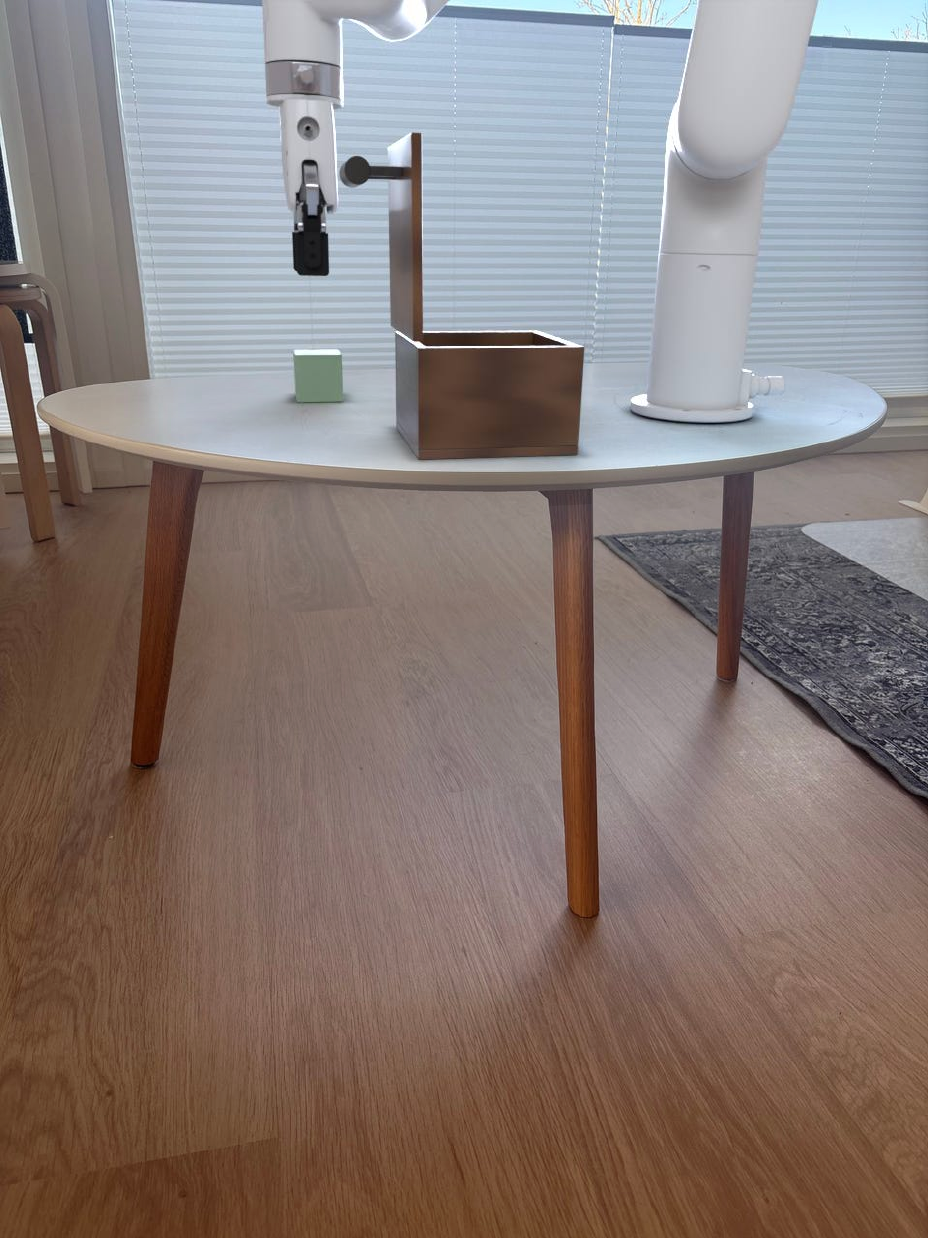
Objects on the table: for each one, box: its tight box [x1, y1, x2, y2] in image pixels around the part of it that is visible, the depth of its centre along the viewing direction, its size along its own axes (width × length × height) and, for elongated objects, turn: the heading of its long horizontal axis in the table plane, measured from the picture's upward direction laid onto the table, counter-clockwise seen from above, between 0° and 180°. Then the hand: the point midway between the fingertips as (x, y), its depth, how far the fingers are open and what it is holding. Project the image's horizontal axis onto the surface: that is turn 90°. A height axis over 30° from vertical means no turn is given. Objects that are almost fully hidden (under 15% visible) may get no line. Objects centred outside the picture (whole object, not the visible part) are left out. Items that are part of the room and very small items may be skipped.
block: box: [292, 348, 344, 403], centre depth 102 cm, size 5×5×5 cm
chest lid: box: [338, 131, 424, 342], centre depth 75 cm, size 14×14×5 cm
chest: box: [394, 330, 585, 461], centre depth 82 cm, size 14×14×9 cm
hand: (310, 273), depth 98 cm, fingers open, 9 cm apart
